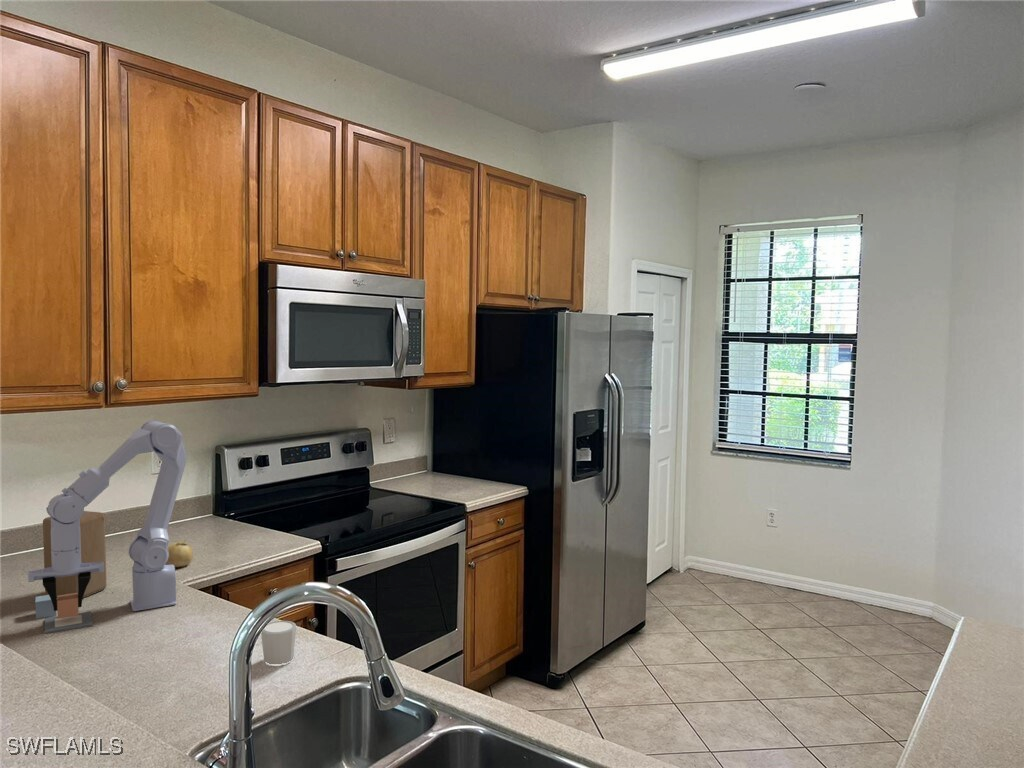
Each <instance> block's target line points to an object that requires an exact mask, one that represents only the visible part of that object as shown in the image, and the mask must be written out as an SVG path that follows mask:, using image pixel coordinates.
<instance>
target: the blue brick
mask: <svg viewBox="0 0 1024 768" xmlns="http://www.w3.org/2000/svg"><path fill="white" fill-rule="evenodd" d="M34 604H35V606H34V607H35V619H36V620H37V619H38V620H39V619H45V618H51V617H57V611H54V608H53V604H52V601H51V598H50V596H49V595H45V594H44V595H38V596H35V602H34Z"/></svg>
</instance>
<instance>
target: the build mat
mask: <svg viewBox="0 0 1024 768" xmlns="http://www.w3.org/2000/svg"><path fill="white" fill-rule="evenodd" d="M88 627H93V620H92V613H91V610H90V611H89V610H88V611H84V612H78V616H73V617H66V618H60V619H58V615H56V616H51V617H45V618H44V634H52V633H57V632H65V631H70V630H77V629H81V628H88Z"/></svg>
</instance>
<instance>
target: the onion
mask: <svg viewBox="0 0 1024 768" xmlns="http://www.w3.org/2000/svg"><path fill="white" fill-rule="evenodd" d="M186 541H187V539H186V540H184V541H181V542H173V543H171V544H170V545H168V552H169V558H168V561H167V562H166V564H165V565H174V567H175V568H182V567H185V566H188V565H189V564H190V563H191V562H192V561H193V559H194V551H193V549H192V547H191V546H190V545H188V543H187V542H186Z"/></svg>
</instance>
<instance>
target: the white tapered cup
mask: <svg viewBox="0 0 1024 768" xmlns="http://www.w3.org/2000/svg"><path fill="white" fill-rule="evenodd" d="M268 623H269V624H268ZM268 623H267V624H268V625H267V626H266V627H265V628H264V630H263V631H262V633H261V632H260V635H261V644H262V645H261V646H262V653H263V655H262V656H263V662H264V661H265V662H267V663H269V664H282V663H287V662H289V661H291V660H292V659H293V657H295V645H296V635H297V633H296V632H297V624H296V623H295V622H293V621H289V620H276V621H271V622H268ZM293 660H294V659H293Z"/></svg>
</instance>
